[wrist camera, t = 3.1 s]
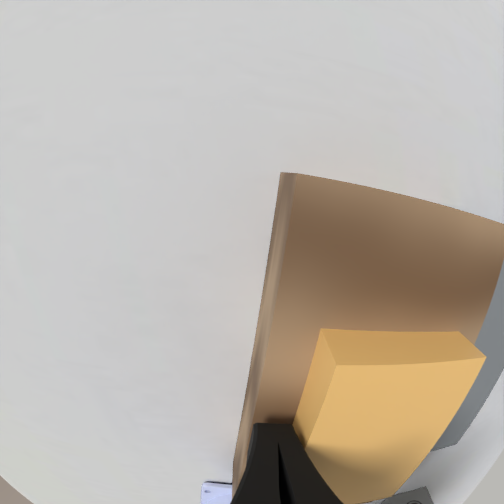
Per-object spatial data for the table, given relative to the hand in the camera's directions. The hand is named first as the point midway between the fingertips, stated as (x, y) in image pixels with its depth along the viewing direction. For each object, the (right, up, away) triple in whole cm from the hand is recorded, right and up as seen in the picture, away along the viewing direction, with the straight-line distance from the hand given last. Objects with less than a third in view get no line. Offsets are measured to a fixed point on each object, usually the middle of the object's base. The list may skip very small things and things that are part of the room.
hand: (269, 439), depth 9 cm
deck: (+4, +1, +5) cm, 6 cm away
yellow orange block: (+4, 0, +1) cm, 4 cm away
